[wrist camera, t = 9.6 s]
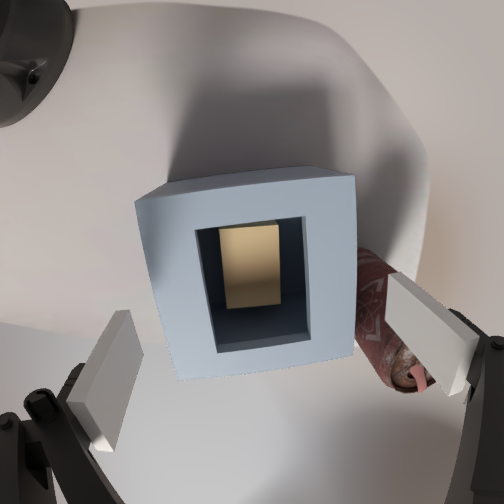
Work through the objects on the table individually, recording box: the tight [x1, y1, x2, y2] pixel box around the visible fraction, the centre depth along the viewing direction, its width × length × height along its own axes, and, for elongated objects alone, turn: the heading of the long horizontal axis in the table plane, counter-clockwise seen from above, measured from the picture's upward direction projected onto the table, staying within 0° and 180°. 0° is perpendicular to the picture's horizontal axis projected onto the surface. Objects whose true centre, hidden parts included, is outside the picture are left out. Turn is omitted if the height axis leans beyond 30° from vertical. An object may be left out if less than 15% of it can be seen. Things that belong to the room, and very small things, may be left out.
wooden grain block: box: [219, 220, 281, 309], centre depth 25 cm, size 6×4×5 cm, turn 3°
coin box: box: [134, 165, 357, 381], centre depth 23 cm, size 12×12×10 cm
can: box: [354, 248, 436, 393], centre depth 23 cm, size 6×6×14 cm
